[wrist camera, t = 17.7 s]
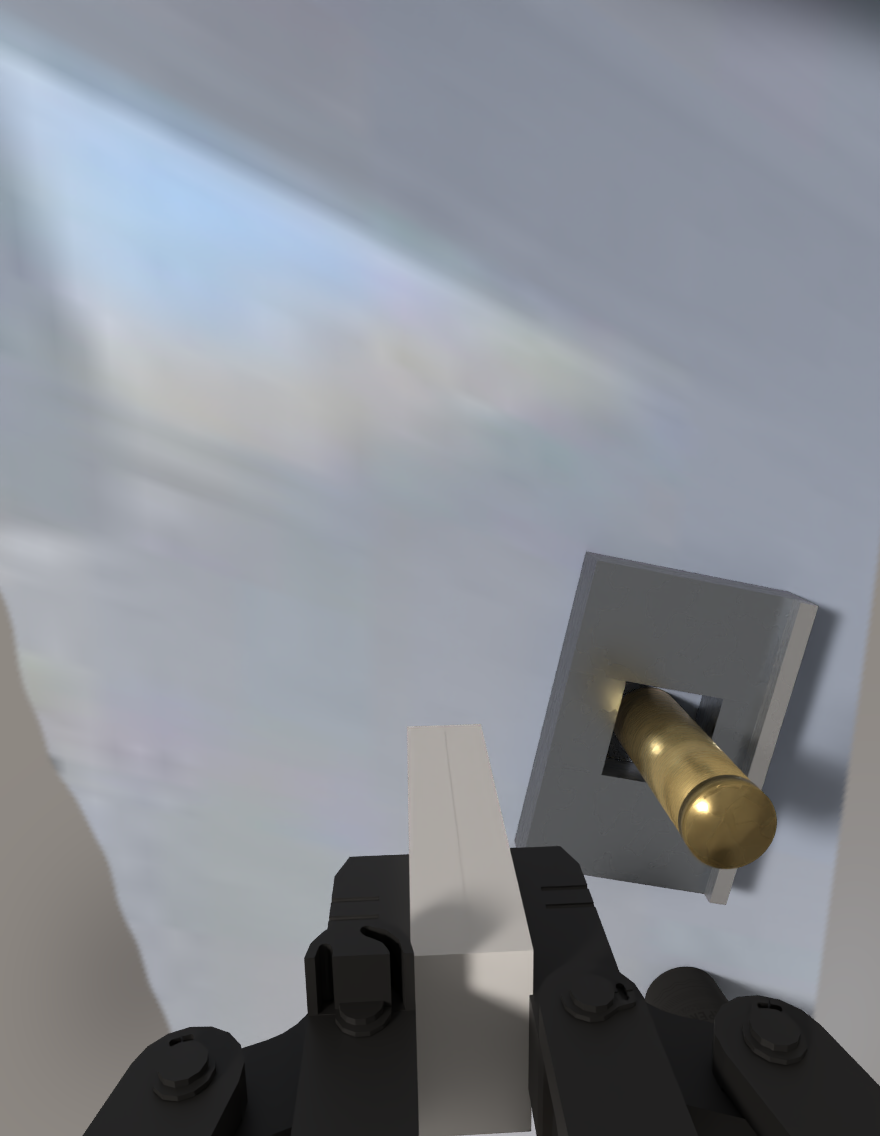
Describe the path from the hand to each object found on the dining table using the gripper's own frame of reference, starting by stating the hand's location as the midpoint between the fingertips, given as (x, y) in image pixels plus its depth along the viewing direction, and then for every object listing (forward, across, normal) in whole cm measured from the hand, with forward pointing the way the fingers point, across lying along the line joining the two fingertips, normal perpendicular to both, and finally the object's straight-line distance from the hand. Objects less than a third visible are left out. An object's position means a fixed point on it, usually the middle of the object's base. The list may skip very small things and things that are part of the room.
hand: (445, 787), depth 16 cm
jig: (+28, +13, -11) cm, 33 cm away
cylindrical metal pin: (+28, +13, -11) cm, 32 cm away
